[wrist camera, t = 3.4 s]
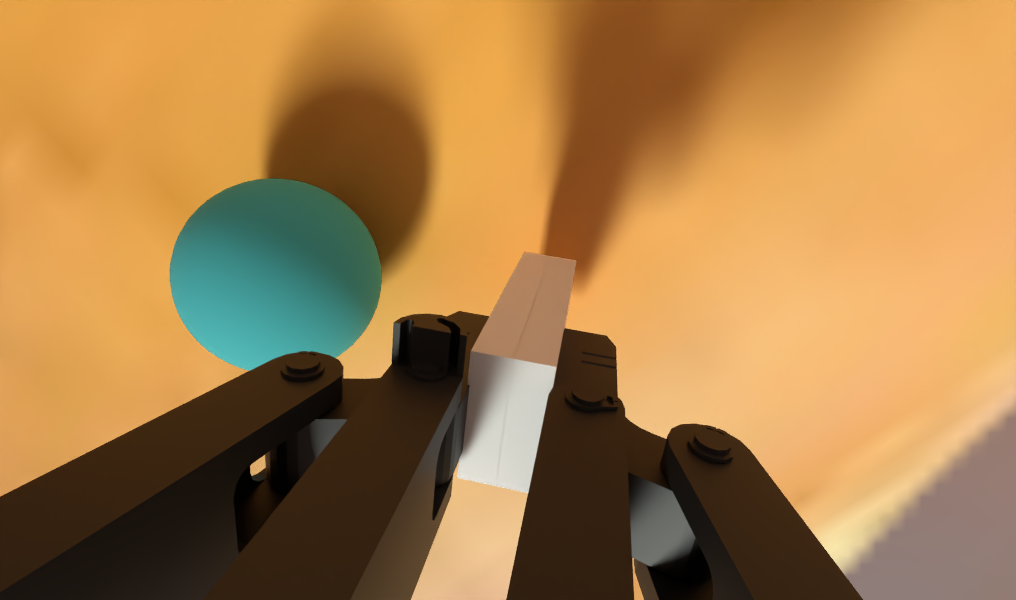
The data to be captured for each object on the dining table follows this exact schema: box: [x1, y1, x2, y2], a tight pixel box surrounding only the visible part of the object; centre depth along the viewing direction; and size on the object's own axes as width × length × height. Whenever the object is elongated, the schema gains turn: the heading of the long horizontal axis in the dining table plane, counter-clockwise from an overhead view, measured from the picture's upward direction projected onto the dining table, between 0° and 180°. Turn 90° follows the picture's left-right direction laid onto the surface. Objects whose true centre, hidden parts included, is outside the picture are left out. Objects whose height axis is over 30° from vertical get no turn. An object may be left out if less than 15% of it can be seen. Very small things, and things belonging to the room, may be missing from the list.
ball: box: [170, 178, 382, 371], centre depth 16 cm, size 6×6×6 cm
